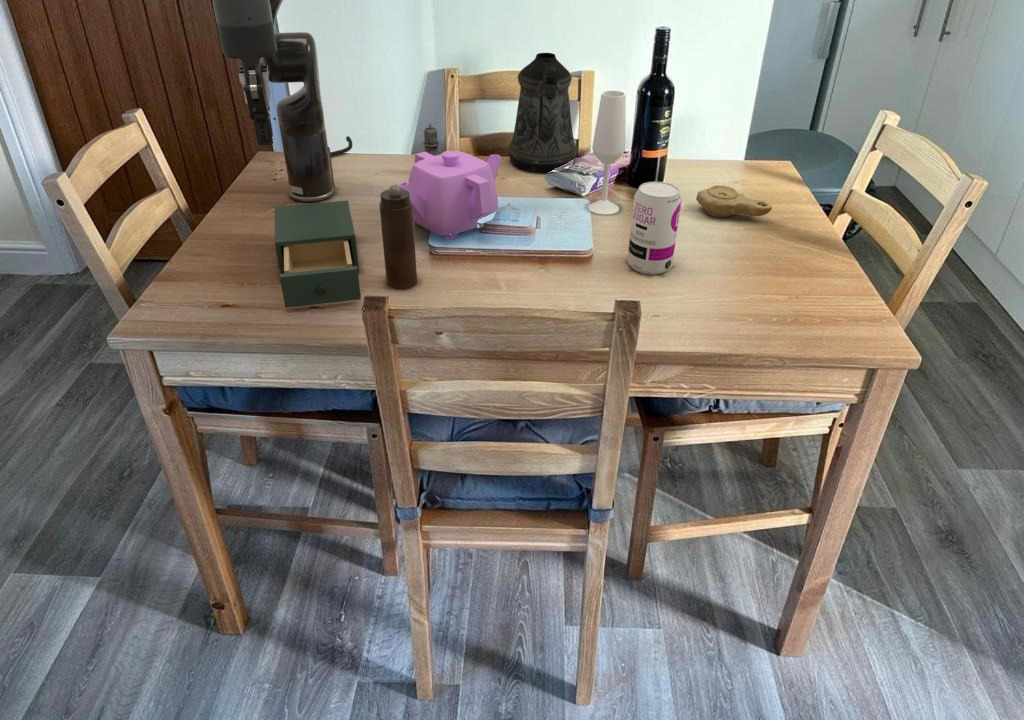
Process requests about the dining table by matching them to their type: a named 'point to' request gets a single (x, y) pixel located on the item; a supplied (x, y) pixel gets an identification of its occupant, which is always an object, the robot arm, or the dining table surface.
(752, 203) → the oil lamp
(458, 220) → the teapot
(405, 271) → the pepper mill
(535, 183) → the dining table surface
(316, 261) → the drawer
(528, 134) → the dark engraved coffee pot
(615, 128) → the champagne flute
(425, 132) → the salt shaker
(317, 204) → the cabinet
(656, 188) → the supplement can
